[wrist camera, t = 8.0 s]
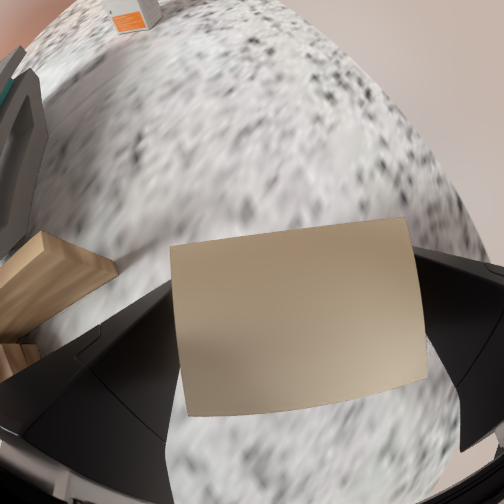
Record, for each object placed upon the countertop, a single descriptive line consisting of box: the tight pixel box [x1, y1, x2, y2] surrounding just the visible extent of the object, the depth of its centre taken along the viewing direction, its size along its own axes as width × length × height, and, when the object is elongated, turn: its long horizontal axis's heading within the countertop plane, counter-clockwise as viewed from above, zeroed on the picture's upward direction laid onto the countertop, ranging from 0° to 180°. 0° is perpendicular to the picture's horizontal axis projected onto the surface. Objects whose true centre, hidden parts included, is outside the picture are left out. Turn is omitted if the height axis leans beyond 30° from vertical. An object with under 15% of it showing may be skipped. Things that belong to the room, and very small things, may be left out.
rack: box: [0, 231, 118, 345], centre depth 14 cm, size 6×17×8 cm, turn 118°
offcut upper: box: [0, 344, 28, 382], centre depth 14 cm, size 3×4×2 cm
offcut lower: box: [20, 344, 41, 366], centre depth 17 cm, size 4×4×2 cm
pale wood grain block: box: [170, 217, 428, 417], centre depth 11 cm, size 4×5×12 cm
